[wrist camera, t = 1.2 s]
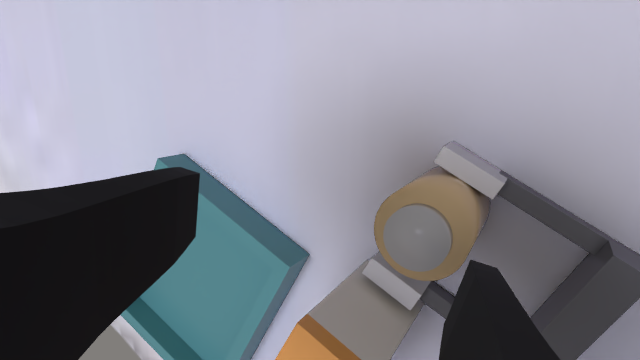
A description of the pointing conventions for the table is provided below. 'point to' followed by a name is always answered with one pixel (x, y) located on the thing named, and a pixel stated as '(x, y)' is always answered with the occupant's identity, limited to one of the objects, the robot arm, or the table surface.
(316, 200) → the table surface
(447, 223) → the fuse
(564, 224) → the holder block
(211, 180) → the tray
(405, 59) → the table surface
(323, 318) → the block
